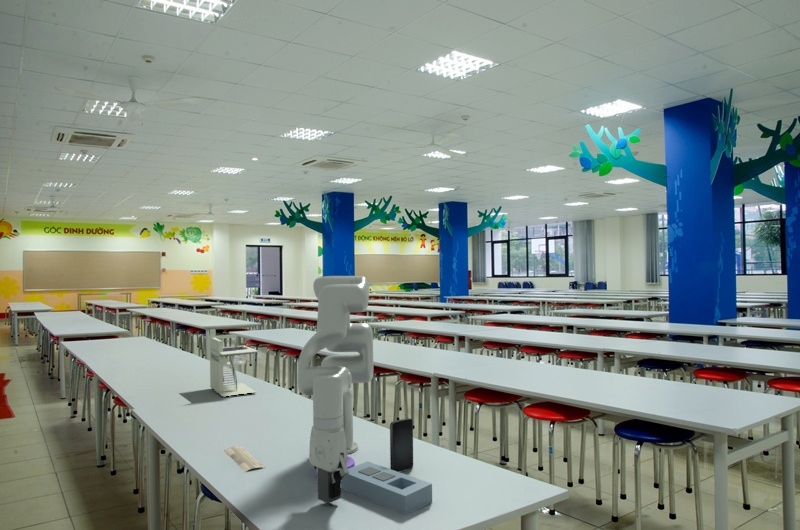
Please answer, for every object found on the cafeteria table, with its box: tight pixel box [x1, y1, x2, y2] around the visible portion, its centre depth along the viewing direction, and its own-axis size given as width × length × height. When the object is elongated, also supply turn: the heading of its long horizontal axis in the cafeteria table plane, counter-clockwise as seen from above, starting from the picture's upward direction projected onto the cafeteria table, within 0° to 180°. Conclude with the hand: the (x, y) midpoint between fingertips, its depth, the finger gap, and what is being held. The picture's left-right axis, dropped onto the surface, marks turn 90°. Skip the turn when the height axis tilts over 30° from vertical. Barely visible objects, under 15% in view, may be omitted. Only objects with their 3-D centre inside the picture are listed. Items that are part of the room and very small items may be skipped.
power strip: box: [341, 461, 433, 516], centre depth 142 cm, size 28×10×5 cm, turn 47°
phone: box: [389, 417, 414, 473], centre depth 158 cm, size 8×1×15 cm, turn 128°
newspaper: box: [224, 445, 265, 473], centre depth 169 cm, size 24×7×2 cm, turn 32°
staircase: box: [209, 329, 259, 398], centre depth 272 cm, size 27×18×30 cm
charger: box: [317, 468, 341, 504], centre depth 135 cm, size 4×4×9 cm
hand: (329, 493), depth 135 cm, fingers closed on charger, 4 cm apart
